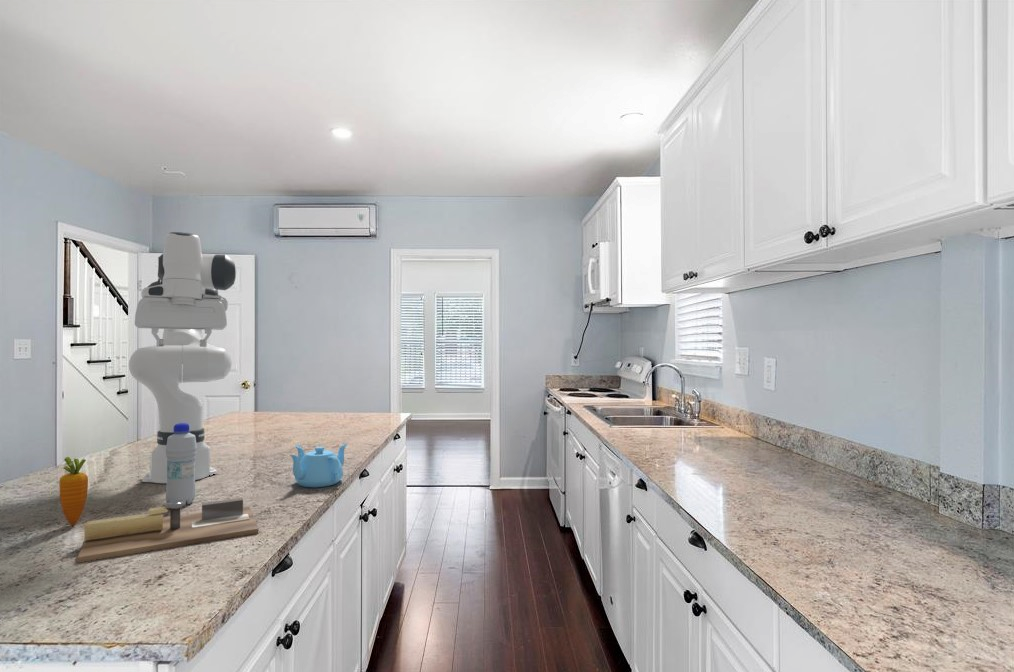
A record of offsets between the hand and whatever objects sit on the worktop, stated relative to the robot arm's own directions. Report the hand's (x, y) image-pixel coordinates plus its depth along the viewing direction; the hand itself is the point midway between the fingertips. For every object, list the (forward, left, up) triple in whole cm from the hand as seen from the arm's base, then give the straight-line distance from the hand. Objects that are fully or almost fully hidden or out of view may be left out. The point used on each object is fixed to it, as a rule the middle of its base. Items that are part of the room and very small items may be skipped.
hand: (182, 346), depth 137 cm
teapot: (0, +34, -39) cm, 52 cm away
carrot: (+11, -20, -39) cm, 45 cm away
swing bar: (+27, -7, -38) cm, 47 cm away
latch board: (+27, -1, -39) cm, 48 cm away
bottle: (+4, 0, -39) cm, 39 cm away
